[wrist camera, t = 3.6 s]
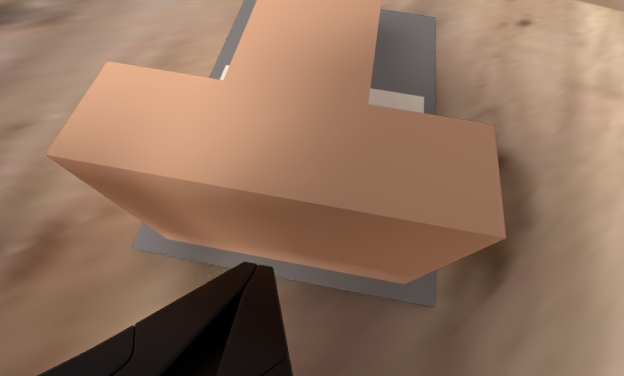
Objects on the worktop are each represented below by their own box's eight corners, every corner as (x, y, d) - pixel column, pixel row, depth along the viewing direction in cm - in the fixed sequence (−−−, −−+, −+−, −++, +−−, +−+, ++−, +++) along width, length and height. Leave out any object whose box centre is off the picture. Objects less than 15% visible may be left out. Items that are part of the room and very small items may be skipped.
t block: (404, 284, 15) (506, 238, 7) (167, 238, 15) (44, 154, 8) (412, 103, 19) (478, -31, 12) (233, 74, 20) (195, -70, 13)
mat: (431, 307, 15) (435, 306, 14) (136, 249, 15) (131, 247, 15) (433, 22, 24) (435, 17, 23) (249, -6, 25) (248, -11, 24)
